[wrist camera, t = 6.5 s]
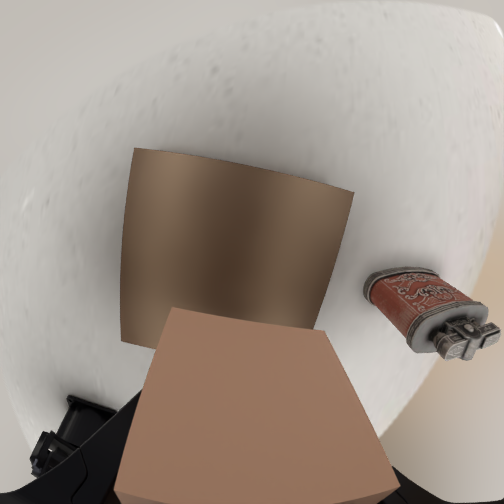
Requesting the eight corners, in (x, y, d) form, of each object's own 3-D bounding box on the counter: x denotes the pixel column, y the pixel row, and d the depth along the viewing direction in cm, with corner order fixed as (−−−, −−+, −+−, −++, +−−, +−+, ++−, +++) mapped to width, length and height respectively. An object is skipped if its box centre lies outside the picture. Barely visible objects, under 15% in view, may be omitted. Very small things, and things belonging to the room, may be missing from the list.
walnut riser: (137, 311, 20) (121, 341, 16) (154, 151, 16) (134, 147, 13) (287, 336, 21) (297, 368, 17) (329, 186, 18) (354, 192, 14)
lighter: (359, 306, 21) (424, 386, 12) (367, 267, 20) (446, 336, 11) (430, 299, 22) (497, 355, 12) (438, 265, 21) (515, 314, 11)
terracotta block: (164, 407, 10) (142, 535, 4) (171, 306, 8) (113, 489, 2) (282, 421, 10) (306, 542, 4) (324, 330, 9) (400, 486, 3)
